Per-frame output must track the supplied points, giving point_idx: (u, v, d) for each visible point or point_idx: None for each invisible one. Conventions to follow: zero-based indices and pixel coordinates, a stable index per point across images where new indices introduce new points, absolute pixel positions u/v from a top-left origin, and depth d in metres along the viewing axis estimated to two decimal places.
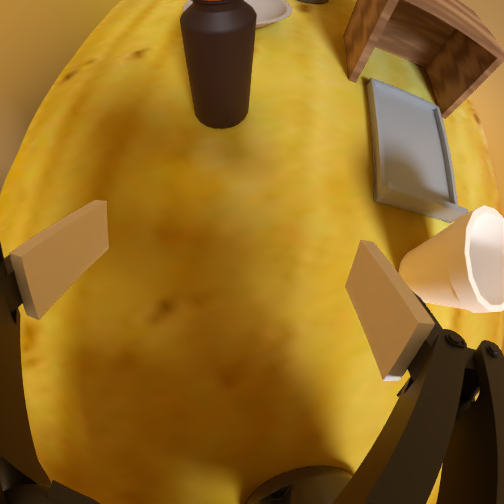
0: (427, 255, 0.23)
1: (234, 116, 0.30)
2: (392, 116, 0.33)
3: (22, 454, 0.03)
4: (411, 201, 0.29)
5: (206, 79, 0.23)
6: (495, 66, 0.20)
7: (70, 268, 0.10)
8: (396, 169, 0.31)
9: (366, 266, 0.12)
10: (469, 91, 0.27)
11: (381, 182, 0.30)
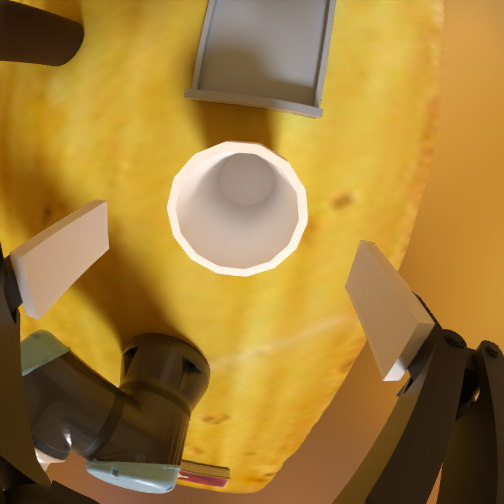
0: None
1: (63, 56, 0.21)
2: None
3: (22, 454, 0.03)
4: (227, 101, 0.24)
5: (13, 61, 0.15)
6: None
7: (70, 268, 0.10)
8: (226, 60, 0.24)
9: (366, 266, 0.12)
10: None
11: (192, 83, 0.24)
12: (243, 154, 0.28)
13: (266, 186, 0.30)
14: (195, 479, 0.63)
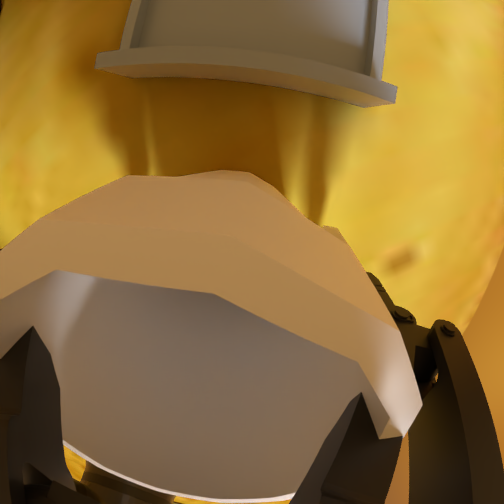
0: None
1: None
2: None
3: (50, 458, 0.03)
4: (183, 69, 0.10)
5: None
6: None
7: None
8: None
9: None
10: None
11: (122, 44, 0.10)
12: None
13: None
14: None
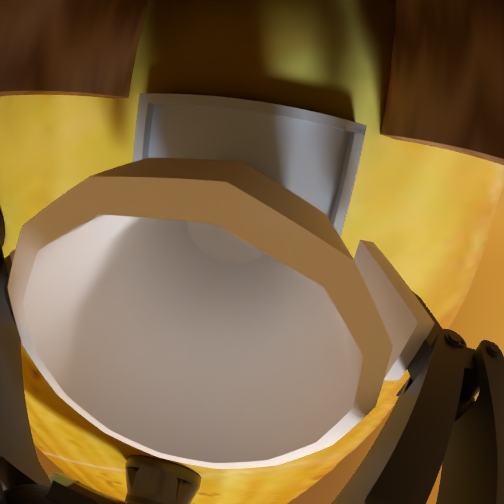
0: None
1: None
2: None
3: (22, 454, 0.03)
4: None
5: None
6: None
7: None
8: None
9: (366, 266, 0.12)
10: (468, 151, 0.08)
11: None
12: None
13: None
14: None
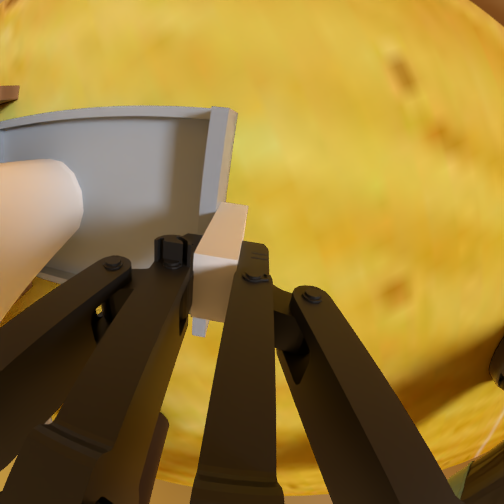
0: None
1: (158, 426, 0.26)
2: None
3: (127, 486, 0.03)
4: None
5: None
6: None
7: None
8: (146, 261, 0.18)
9: None
10: None
11: None
12: None
13: None
14: None
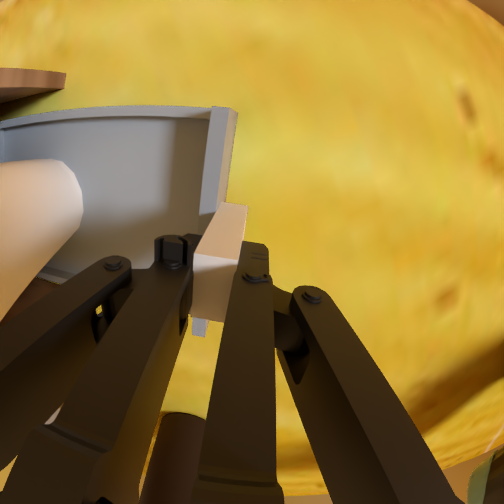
0: None
1: None
2: None
3: (127, 486, 0.03)
4: None
5: None
6: None
7: None
8: (146, 260, 0.18)
9: None
10: None
11: None
12: None
13: None
14: None
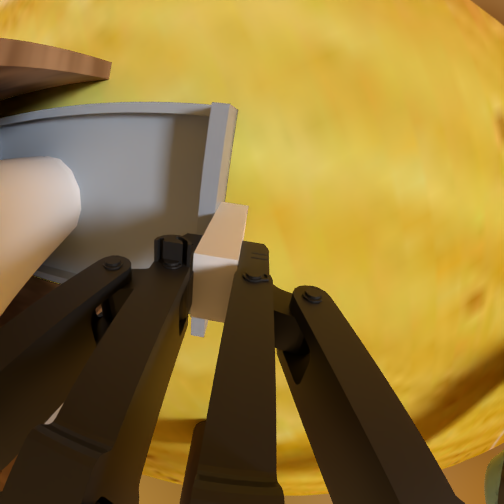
0: None
1: None
2: None
3: (126, 486, 0.03)
4: None
5: None
6: None
7: None
8: (144, 259, 0.18)
9: None
10: (17, 55, 0.06)
11: None
12: None
13: None
14: None
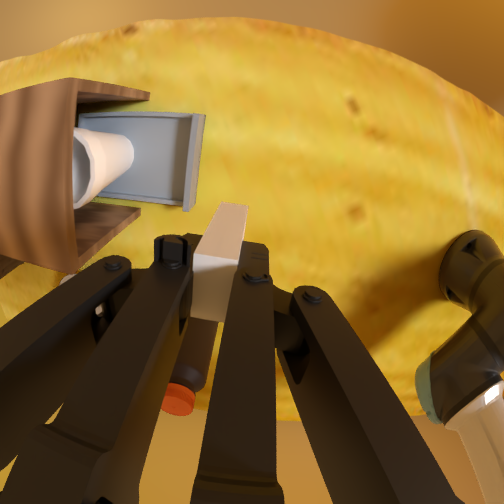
0: None
1: None
2: None
3: (127, 486, 0.03)
4: (193, 180, 0.36)
5: None
6: (88, 84, 0.19)
7: None
8: (163, 181, 0.38)
9: None
10: (122, 91, 0.26)
11: (180, 205, 0.38)
12: None
13: None
14: None
